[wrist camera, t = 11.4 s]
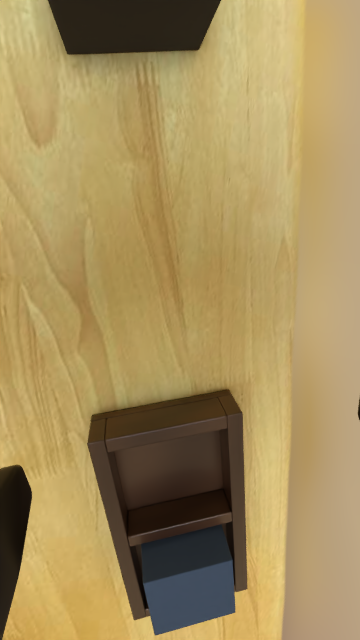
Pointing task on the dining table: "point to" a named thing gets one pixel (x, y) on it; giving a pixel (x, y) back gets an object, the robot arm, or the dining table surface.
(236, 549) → the dark wooden tray
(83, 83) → the dining table surface
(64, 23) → the pad charcoal
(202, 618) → the slate blue square block
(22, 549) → the robot arm
